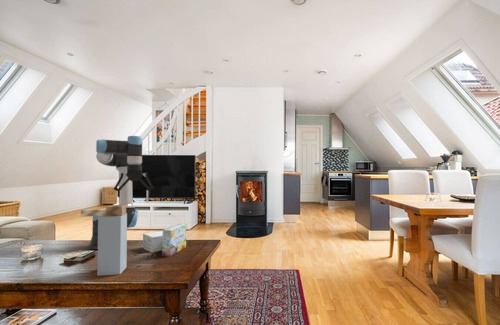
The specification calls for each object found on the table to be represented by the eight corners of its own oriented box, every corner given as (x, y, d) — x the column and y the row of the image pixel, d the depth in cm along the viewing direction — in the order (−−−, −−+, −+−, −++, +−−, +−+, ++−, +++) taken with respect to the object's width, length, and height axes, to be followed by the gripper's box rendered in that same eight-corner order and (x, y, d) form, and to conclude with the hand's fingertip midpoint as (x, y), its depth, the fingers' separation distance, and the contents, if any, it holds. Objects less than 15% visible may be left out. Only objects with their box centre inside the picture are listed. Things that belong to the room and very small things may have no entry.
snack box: (170, 257, 153) (170, 230, 153) (161, 256, 154) (161, 229, 155) (186, 246, 174) (186, 223, 174) (178, 246, 175) (178, 223, 175)
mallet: (78, 217, 127) (78, 207, 127) (85, 215, 134) (85, 205, 134) (121, 216, 130) (121, 206, 130) (126, 213, 137) (126, 204, 137)
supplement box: (151, 252, 162) (151, 237, 162) (142, 248, 171) (142, 233, 171) (177, 247, 173) (177, 232, 174) (167, 243, 183) (167, 229, 183)
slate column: (97, 275, 126) (98, 217, 127) (105, 268, 135) (106, 214, 136) (120, 274, 127) (120, 216, 128) (126, 266, 137) (127, 213, 138)
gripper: (108, 163, 140) (108, 204, 140) (159, 164, 151) (158, 202, 151) (109, 163, 147) (108, 202, 147) (157, 164, 158) (157, 200, 158)
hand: (134, 202), depth 149 cm, fingers open, 13 cm apart
